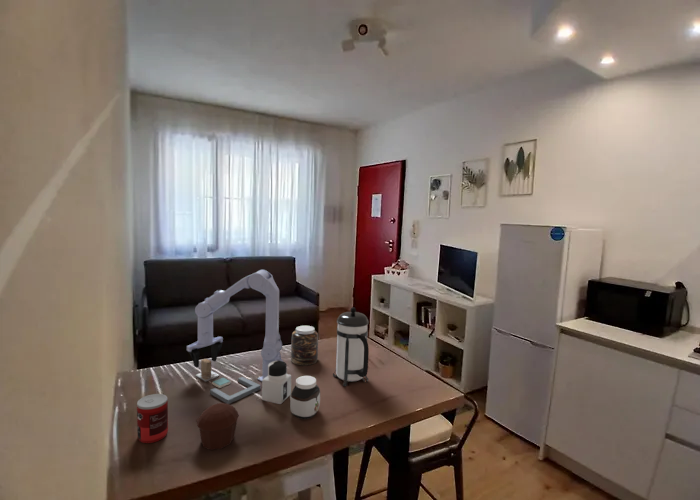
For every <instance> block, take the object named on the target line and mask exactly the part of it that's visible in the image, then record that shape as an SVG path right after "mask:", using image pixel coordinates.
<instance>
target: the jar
mask: <svg viewBox="0 0 700 500" xmlns="http://www.w3.org/2000/svg"><path fill="white" fill-rule="evenodd" d="M290 345H291V352H290V354H291V355H290V358H291V359H290V361H291V362H292V363H293V364H294V365H298V366H310V365H311V366H312V365H314V364H317V362H318V359H319V357H318V355H319V354H318V353H319V334H318V332H317V331H316V330H315V327H314V326H312V325H311V326H310V325H300V326H296V328H295V330H294V331H293V332H292V333H291V344H290Z"/></svg>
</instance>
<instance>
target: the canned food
mask: <svg viewBox="0 0 700 500" xmlns="http://www.w3.org/2000/svg"><path fill="white" fill-rule="evenodd" d="M168 400H169V399H168V396H167V395H166V394H163V393H152V394H148V395H144V396H142V397H141V398H140V399H138V400H137V403H136V423H137V424H136V428H137V438H138V441H139V442H141V443H143V444H152V443H153V444H154V443H156V442H159V441H160V440H163V439H164V438H165V437H166V436H167V434H168V431H169V408H168V407H169V404H168V402H169V401H168Z"/></svg>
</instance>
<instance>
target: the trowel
mask: <svg viewBox="0 0 700 500" xmlns="http://www.w3.org/2000/svg"><path fill="white" fill-rule="evenodd" d="M200 368H201V369H200V370H201V371H200V373H197V374H195V377H196V378H198V379H200V380H202V381H204V382H208V381H211V380H213V379H216V378H218V376H219V377H220V374H218V373H217V372H215V371H213V370H212V360H209V359H207V358H203V359H200Z"/></svg>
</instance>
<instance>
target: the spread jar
mask: <svg viewBox="0 0 700 500" xmlns="http://www.w3.org/2000/svg"><path fill="white" fill-rule="evenodd" d="M289 399H290V404H289V405H290V413H291V414H292V415H293V416H294V417H296V418H297V419H301V420H309V419H312V418H314V417H315V416H316V415H317V413H318V411H319V408H320V404H321V389H320V387H319V386H318V384H317V378H315V376H311V375H303V376H302V375H301V376H299V377H297V378H296V379H295V386H294V387H293V389H292V390H291V395H290V396H289Z"/></svg>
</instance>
